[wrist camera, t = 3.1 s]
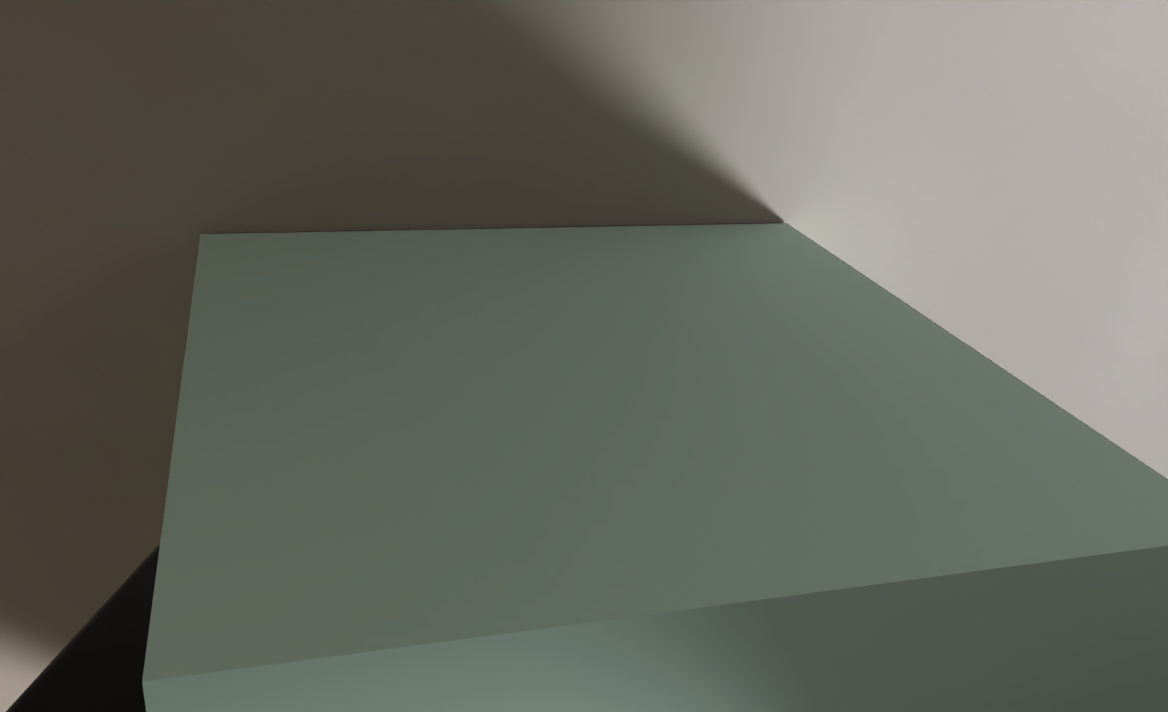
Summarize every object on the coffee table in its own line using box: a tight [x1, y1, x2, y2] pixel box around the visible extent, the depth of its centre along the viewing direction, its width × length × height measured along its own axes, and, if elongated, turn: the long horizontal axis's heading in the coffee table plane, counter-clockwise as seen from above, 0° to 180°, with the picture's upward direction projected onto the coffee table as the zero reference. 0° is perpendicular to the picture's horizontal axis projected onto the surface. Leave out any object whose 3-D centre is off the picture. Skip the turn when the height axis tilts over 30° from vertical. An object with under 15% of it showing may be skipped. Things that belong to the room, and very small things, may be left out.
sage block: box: [142, 223, 1168, 712], centre depth 8 cm, size 5×5×5 cm
